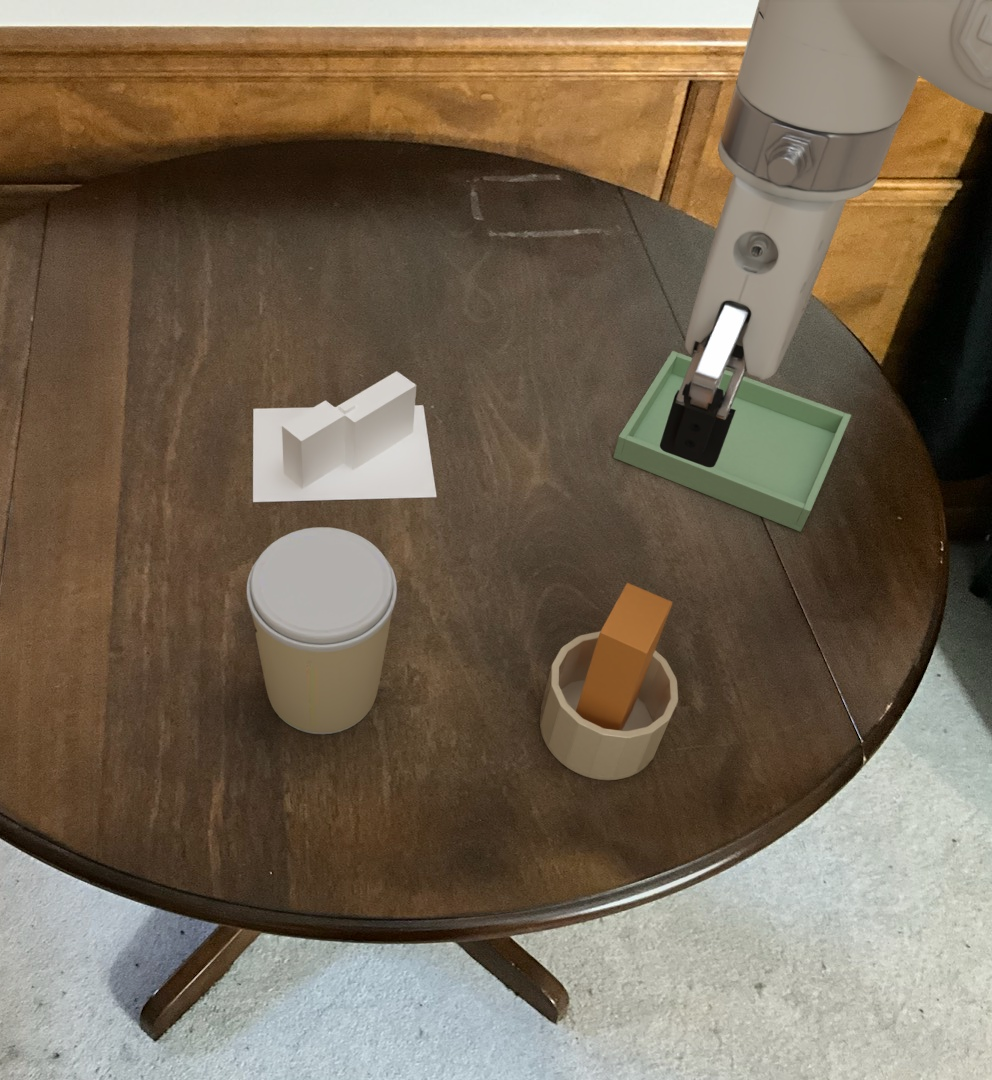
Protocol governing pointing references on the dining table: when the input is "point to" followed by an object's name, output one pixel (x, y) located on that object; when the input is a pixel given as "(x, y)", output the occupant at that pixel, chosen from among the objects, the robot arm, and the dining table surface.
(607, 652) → the orange rectangular bar
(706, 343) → the robot arm
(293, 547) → the coffee cup
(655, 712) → the cup
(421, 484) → the napkin holder
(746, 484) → the tray
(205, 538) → the dining table surface
